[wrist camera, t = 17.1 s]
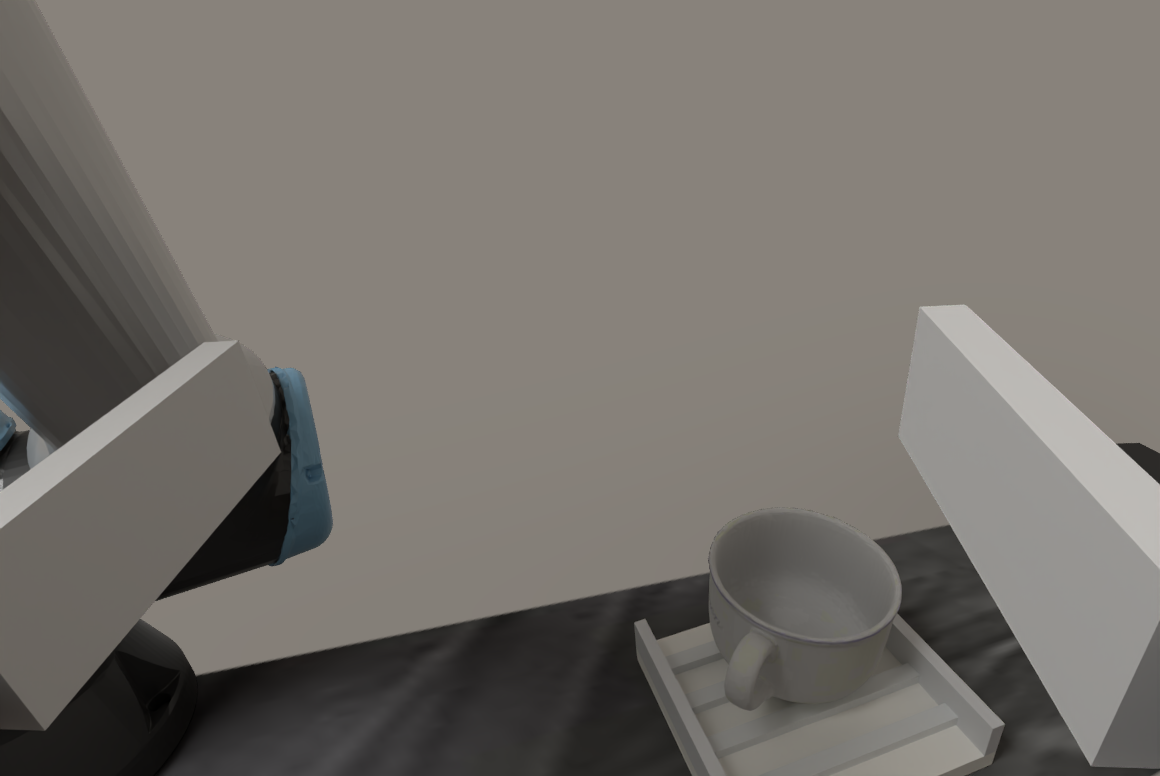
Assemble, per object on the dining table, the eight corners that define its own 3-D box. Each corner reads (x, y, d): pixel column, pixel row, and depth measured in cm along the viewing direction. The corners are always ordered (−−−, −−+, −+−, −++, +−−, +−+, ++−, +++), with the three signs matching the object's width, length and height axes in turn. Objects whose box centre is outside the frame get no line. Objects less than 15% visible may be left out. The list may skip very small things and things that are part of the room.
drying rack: (737, 871, 34) (738, 833, 32) (637, 658, 46) (634, 622, 44) (991, 764, 37) (1005, 724, 36) (837, 592, 49) (841, 556, 48)
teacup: (770, 569, 49) (775, 483, 46) (917, 652, 42) (937, 558, 38) (641, 687, 42) (634, 595, 38) (794, 815, 34) (803, 716, 30)
